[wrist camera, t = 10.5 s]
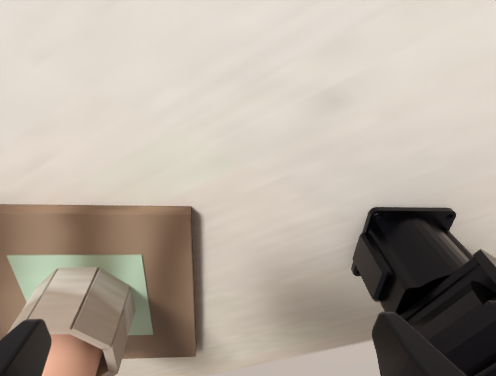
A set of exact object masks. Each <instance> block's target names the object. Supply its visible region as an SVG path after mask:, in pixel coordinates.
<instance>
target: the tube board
mask: <svg viewBox="0 0 496 376" xmlns="http://www.w3.org/2000/svg"><path fill="white" fill-rule="evenodd" d="M26 319H43V320H44V321H45V323H46V326H47V328H48V331H49V333H50V335H53V334H70V335H72V336H75V337H77V338H79V339H81V340H83V341H85V342H87V343H89V344H91V345H94V346H96V347H98V348H100V349H102V350H103V354H102V357H101V360H100V363H99V366H98V369H97V372H96V375H95V376H114V375H116V374H117V373H118V371H119V367H120V364H121V360H122V359H128V358H161V357H193V356H196V324H195V297H194V270H193V242H192V215H191V207H188V206H97V205H5V204H0V339H2V338H3V337H4V336H5V335H6V334H8V333H9V332H10V331H11V330H12V329H13V328H15V327H16V326H17V325H18V324H19V323H21V322H22V321H24V320H26Z"/></svg>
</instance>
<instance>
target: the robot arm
mask: <svg viewBox="0 0 496 376" xmlns="http://www.w3.org/2000/svg"><path fill="white" fill-rule="evenodd" d="M377 213H378V214H377ZM375 214H377V215H376V216H374V215H375ZM448 214H449V215H448ZM455 217H456V213H455V212H454V211H453V210H452V209H451V208H398V207H375V208H372V209H371V210H370V211H369V213H368V216H367V219H366V222H365V226H364V229H363V232H362V234H361V235H360V237H359V240H358V243H357V247H356V250H355V253H354V256H353V264H352V268H351V270H352V272H353V274H354V275H355V276H361V277H362V279H363V281H364V283H365V285H366V287H367V289H368V291H369V293H370V295H371V297H372V299H373V300H374V301H380V303H381V305H382V307H383V309H384V311H385V312H381V313H379V315H378V317H377V320H376V322H375V325H374V327H373V330H372V338H373V342H374V346H375V349H376V353H377V358H378V363H379V369H380V375H381V376H496V258H494V257H493V256H491V255H489V254H488V253H486V252H485V251H483V250H482V249H480V250H479V251H477V252H476V253H475V254H474V255H473V256H474V257H473V256H472V255H471V254H470V253H469V252H468V250H467V249H466V248H465V247H464V246H463V245H462V244H461V243H460V242H459V241H458V240H457V239H456V238H455V237H454V236H453V235H452V234H451V233H450V232H449V229H450V227H451V225H452V223H453V221H454V219H455ZM51 343H52V340H51V336H50V333H49V331H48V328H47V326H46V323H45V321H44V320H43V319H26V320H24V321H22V322H21V323H19V324H18V325H17V326H16V327H15V328H13V329H12V330H11V331H10V332H9V333H8V334H6V335H5V336H4V337H3V338H2V339H0V376H42V374H43V370H44V367H45V364H46V361H47V358H48V355H49V351H50V348H51Z"/></svg>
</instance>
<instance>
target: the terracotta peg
mask: <svg viewBox="0 0 496 376" xmlns="http://www.w3.org/2000/svg"><path fill="white" fill-rule="evenodd" d="M50 336H51V340H52V343H51V348H50V351H49V355H48V358H47V361H46V364H45V367H44V370H43V374H42V376H95V375H96V372H97V369H98V366H99V363H100V360H101V357H102V354H103V350H102V349H100V348H98V347H96V346H94V345H91V344H89V343H87V342H85V341H83V340H81V339H79V338H77V337H75V336H72V335H70V334H53V335H50Z"/></svg>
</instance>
